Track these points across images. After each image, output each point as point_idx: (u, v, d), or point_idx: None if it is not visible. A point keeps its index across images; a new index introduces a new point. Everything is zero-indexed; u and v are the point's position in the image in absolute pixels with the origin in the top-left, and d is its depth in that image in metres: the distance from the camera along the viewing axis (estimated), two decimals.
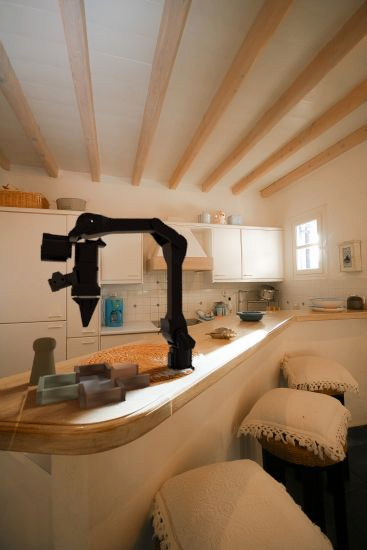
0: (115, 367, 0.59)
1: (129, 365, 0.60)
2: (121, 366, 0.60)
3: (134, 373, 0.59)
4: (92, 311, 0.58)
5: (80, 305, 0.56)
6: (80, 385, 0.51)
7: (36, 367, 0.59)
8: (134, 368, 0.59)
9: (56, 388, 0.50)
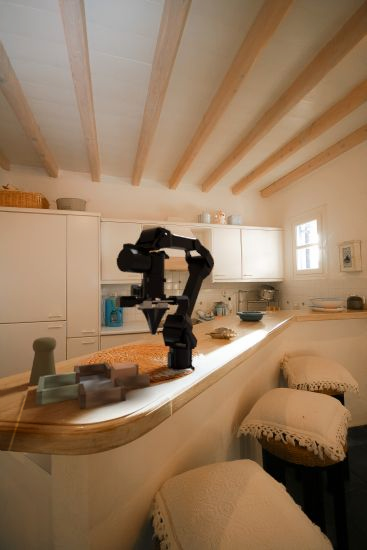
0: (115, 367, 0.59)
1: (129, 365, 0.60)
2: (121, 366, 0.60)
3: (134, 373, 0.59)
4: (149, 320, 0.63)
5: (144, 314, 0.65)
6: (80, 385, 0.51)
7: (36, 367, 0.59)
8: (134, 368, 0.59)
9: (56, 388, 0.50)
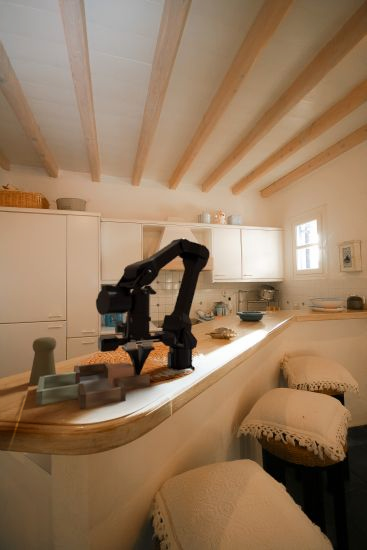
0: (112, 367, 0.58)
1: (126, 366, 0.60)
2: (118, 366, 0.59)
3: (131, 373, 0.59)
4: (133, 362, 0.60)
5: (129, 354, 0.62)
6: (80, 385, 0.51)
7: (36, 367, 0.59)
8: (131, 368, 0.59)
9: (56, 388, 0.50)
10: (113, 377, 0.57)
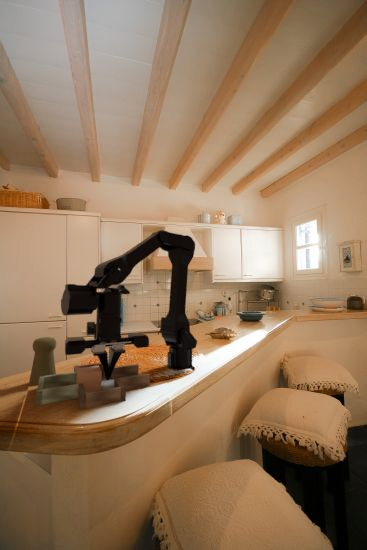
0: (79, 372, 0.55)
1: (94, 370, 0.57)
2: (86, 370, 0.56)
3: (99, 378, 0.56)
4: (102, 366, 0.57)
5: (98, 357, 0.59)
6: (80, 385, 0.51)
7: (36, 367, 0.59)
8: (99, 373, 0.56)
9: (56, 388, 0.50)
10: (78, 382, 0.54)
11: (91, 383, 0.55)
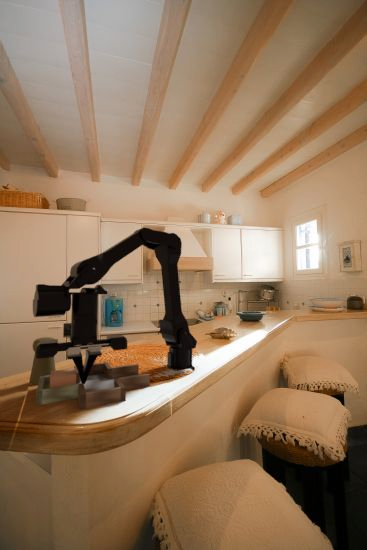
0: (52, 375, 0.53)
1: (69, 373, 0.54)
2: (60, 374, 0.54)
3: (73, 382, 0.53)
4: (77, 369, 0.54)
5: None
6: (80, 385, 0.51)
7: (36, 367, 0.59)
8: (73, 376, 0.53)
9: (56, 388, 0.50)
10: (51, 386, 0.51)
11: None
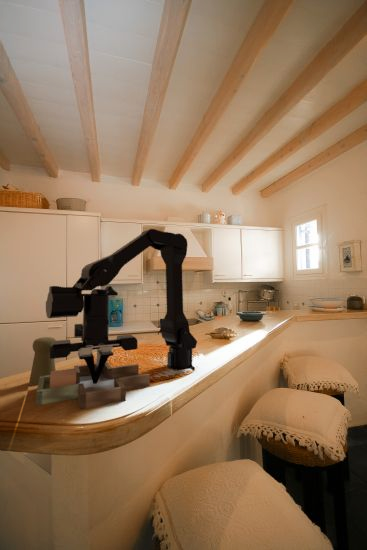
0: (52, 375, 0.53)
1: (69, 373, 0.54)
2: (60, 374, 0.54)
3: (73, 382, 0.53)
4: (89, 369, 0.56)
5: None
6: (80, 385, 0.51)
7: (36, 367, 0.59)
8: (73, 376, 0.53)
9: (56, 388, 0.50)
10: (51, 386, 0.51)
11: None
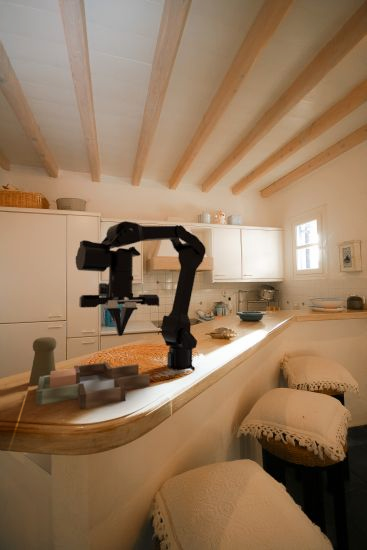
0: (52, 375, 0.53)
1: (69, 373, 0.54)
2: (60, 374, 0.54)
3: (73, 382, 0.53)
4: (115, 321, 0.59)
5: (111, 314, 0.62)
6: (80, 385, 0.51)
7: (36, 367, 0.59)
8: (73, 376, 0.53)
9: (56, 388, 0.50)
10: (51, 386, 0.51)
11: None
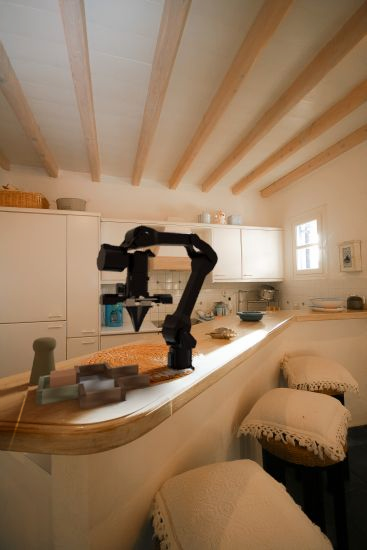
0: (52, 375, 0.53)
1: (69, 373, 0.54)
2: (60, 374, 0.54)
3: (73, 382, 0.53)
4: (132, 318, 0.64)
5: (128, 312, 0.66)
6: (80, 385, 0.51)
7: (36, 367, 0.59)
8: (73, 376, 0.53)
9: (56, 388, 0.50)
10: (51, 386, 0.51)
11: None
